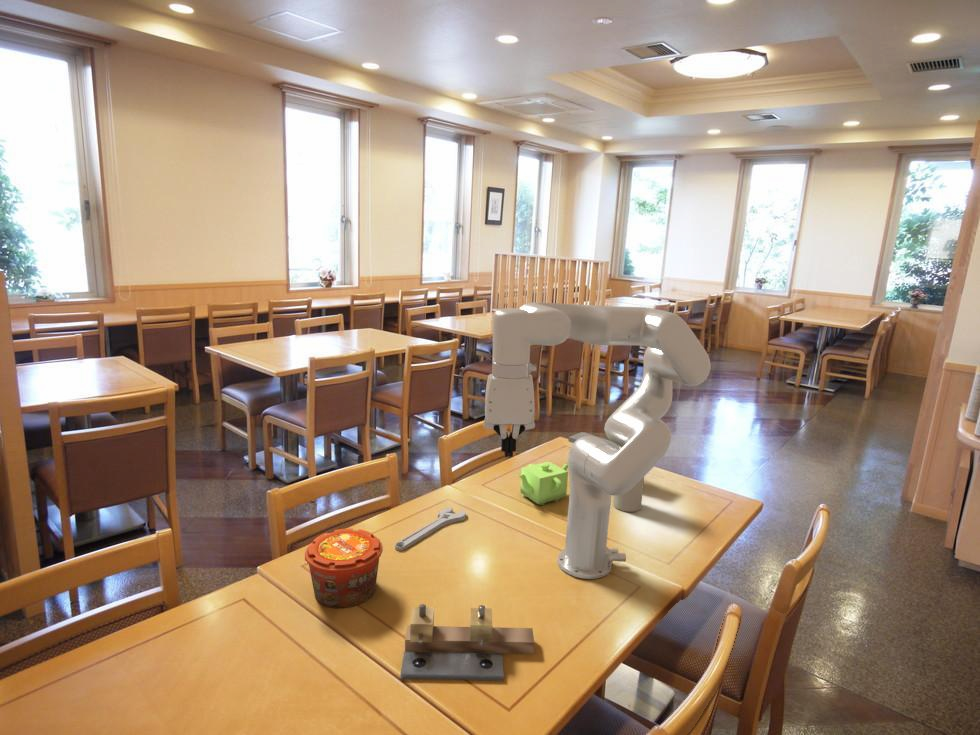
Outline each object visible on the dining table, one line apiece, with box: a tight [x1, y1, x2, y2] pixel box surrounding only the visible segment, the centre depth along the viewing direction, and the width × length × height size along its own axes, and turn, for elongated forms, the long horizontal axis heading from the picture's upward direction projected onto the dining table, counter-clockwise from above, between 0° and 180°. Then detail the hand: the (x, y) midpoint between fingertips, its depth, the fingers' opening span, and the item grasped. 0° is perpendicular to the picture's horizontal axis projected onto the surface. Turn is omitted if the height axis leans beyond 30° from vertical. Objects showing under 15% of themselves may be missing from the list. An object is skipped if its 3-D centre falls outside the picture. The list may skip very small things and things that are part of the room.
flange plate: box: [399, 651, 504, 681], centre depth 106 cm, size 18×6×1 cm, turn 91°
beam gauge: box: [404, 603, 535, 655], centre depth 110 cm, size 24×7×8 cm, turn 91°
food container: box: [304, 528, 384, 609], centre depth 126 cm, size 16×16×11 cm
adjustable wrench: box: [394, 507, 466, 552], centre depth 154 cm, size 25×6×2 cm, turn 140°
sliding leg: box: [469, 604, 493, 646], centre depth 110 cm, size 4×7×6 cm, turn 1°
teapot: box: [516, 461, 569, 506], centre depth 173 cm, size 15×13×11 cm
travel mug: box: [612, 446, 645, 513], centre depth 169 cm, size 8×8×18 cm
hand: (508, 454), depth 124 cm, fingers closed
